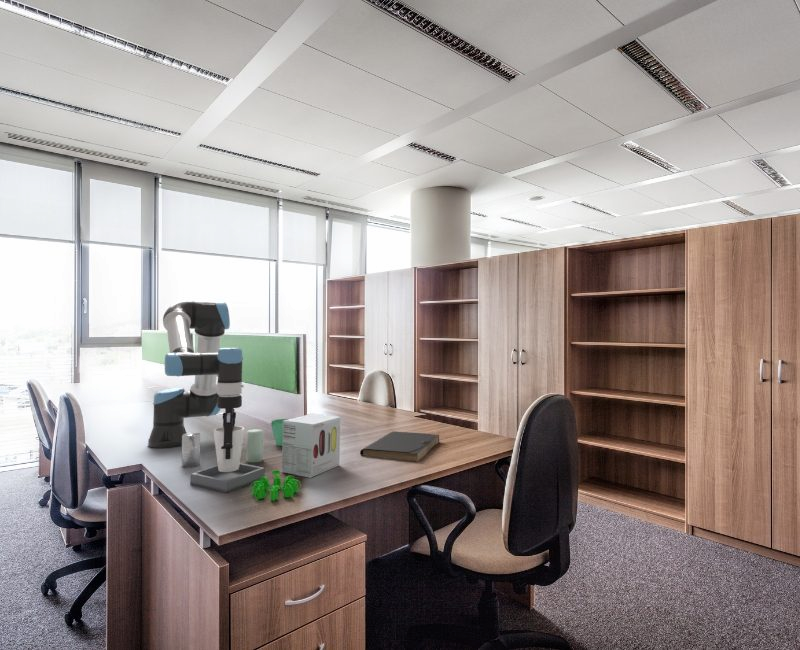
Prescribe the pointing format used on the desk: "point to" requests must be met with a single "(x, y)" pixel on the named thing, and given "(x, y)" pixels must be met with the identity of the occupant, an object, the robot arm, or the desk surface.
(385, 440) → the dark grey book
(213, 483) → the tray
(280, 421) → the mug
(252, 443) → the sage canister
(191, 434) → the steel canister
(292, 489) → the green leafy sprig
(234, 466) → the foam cup
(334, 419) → the supplement box
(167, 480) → the desk surface
